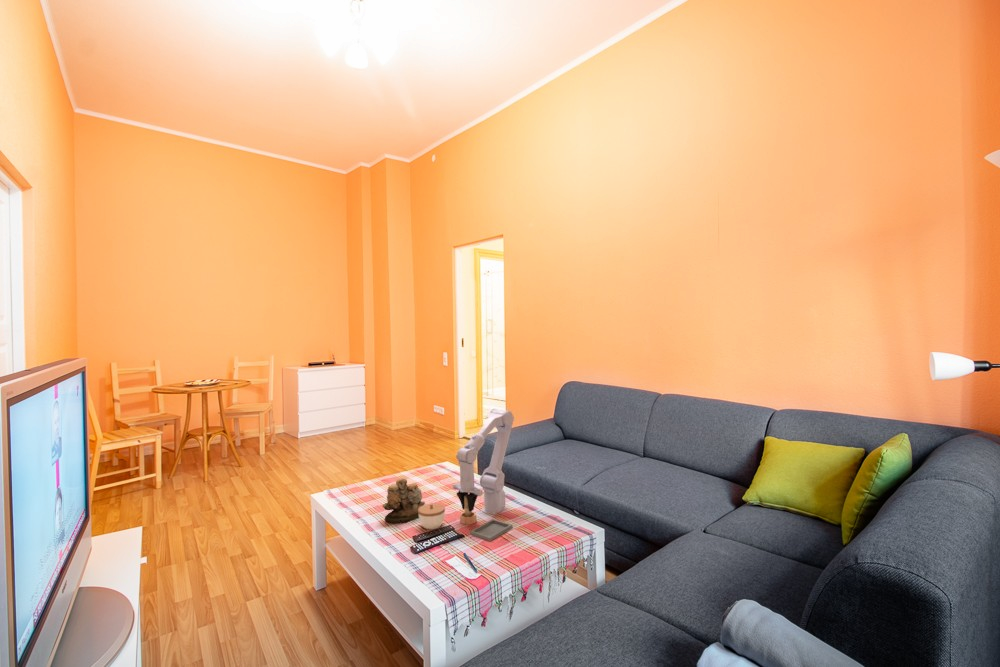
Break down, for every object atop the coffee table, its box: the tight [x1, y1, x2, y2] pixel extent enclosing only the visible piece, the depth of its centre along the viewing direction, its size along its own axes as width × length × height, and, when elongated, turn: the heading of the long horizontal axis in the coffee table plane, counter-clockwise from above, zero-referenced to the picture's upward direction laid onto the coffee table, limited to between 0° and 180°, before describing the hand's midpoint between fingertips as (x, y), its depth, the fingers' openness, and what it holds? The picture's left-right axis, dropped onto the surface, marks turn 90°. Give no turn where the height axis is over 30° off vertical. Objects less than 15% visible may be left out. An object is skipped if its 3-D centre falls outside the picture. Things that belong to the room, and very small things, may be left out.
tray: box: [469, 518, 513, 542], centre depth 183 cm, size 14×10×2 cm
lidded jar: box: [418, 502, 446, 530], centre depth 189 cm, size 11×11×9 cm
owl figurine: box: [382, 477, 426, 525], centre depth 200 cm, size 18×12×17 cm, turn 118°
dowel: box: [463, 495, 473, 517], centre depth 193 cm, size 3×3×9 cm
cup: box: [459, 511, 477, 525], centre depth 193 cm, size 7×7×3 cm
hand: (468, 509), depth 193 cm, fingers closed on dowel, 3 cm apart
